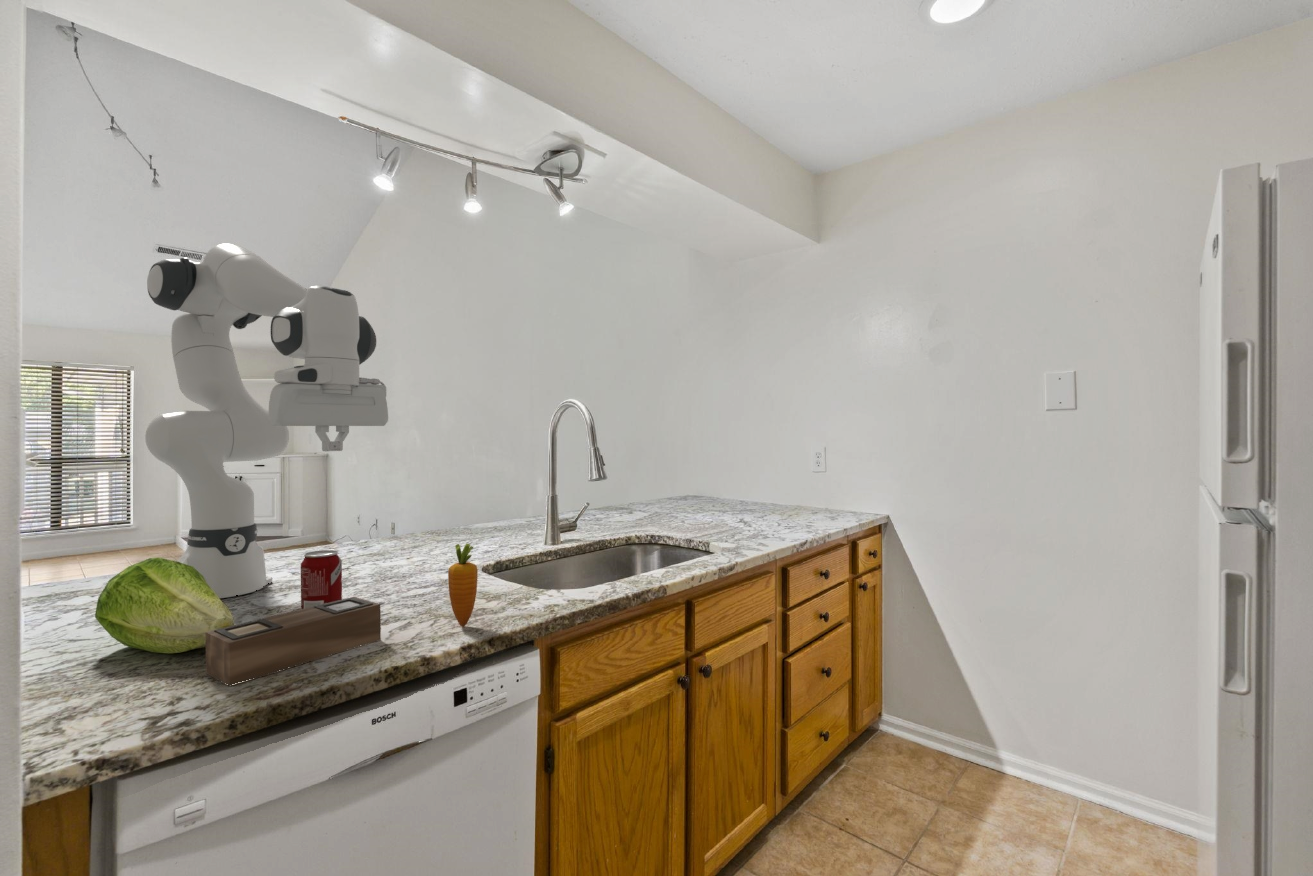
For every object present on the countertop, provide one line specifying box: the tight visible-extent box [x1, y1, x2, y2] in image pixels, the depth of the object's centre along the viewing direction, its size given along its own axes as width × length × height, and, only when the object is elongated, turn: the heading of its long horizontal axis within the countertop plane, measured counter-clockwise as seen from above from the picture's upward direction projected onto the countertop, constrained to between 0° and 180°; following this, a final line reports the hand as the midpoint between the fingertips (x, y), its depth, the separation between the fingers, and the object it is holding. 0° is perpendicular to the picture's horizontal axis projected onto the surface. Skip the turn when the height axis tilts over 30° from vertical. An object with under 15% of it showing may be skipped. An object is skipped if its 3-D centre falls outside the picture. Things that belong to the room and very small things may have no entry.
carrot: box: [447, 543, 479, 628], centre depth 107 cm, size 5×5×15 cm
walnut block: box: [205, 596, 382, 686], centre depth 94 cm, size 8×22×6 cm, turn 146°
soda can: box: [300, 549, 343, 609], centre depth 114 cm, size 7×7×12 cm
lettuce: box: [94, 557, 235, 654], centre depth 96 cm, size 14×24×15 cm
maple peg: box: [228, 624, 268, 636], centre depth 88 cm, size 4×4×6 cm
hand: (332, 451), depth 111 cm, fingers closed
